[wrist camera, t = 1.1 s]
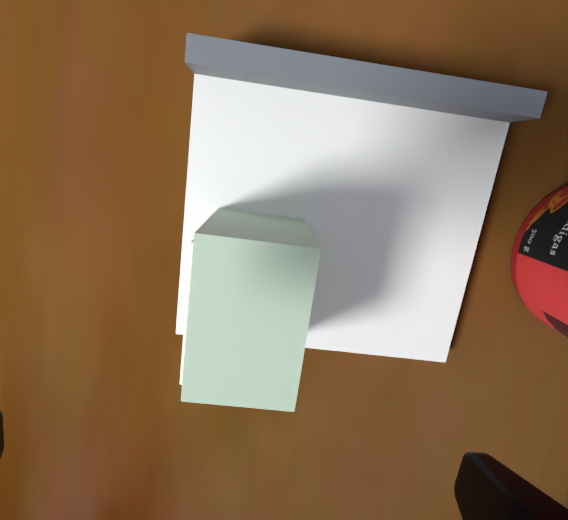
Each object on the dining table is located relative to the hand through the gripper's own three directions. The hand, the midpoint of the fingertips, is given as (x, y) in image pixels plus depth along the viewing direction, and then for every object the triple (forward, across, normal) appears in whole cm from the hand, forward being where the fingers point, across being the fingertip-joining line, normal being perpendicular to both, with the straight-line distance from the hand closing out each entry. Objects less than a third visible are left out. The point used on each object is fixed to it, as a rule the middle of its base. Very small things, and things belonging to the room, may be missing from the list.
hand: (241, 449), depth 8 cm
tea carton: (+12, 0, 0) cm, 12 cm away
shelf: (+12, -3, -3) cm, 13 cm away
